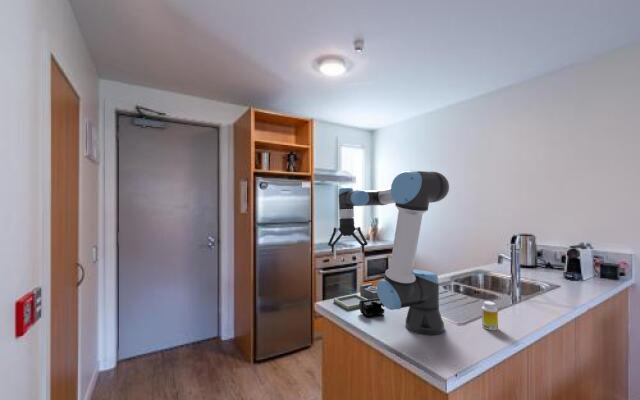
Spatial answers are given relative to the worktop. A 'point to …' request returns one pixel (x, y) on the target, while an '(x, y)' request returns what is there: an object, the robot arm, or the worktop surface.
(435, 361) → the worktop surface
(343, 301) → the grey square frame
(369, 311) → the black ridged block
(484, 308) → the supplement bottle
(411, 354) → the worktop surface
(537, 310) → the worktop surface
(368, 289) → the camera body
